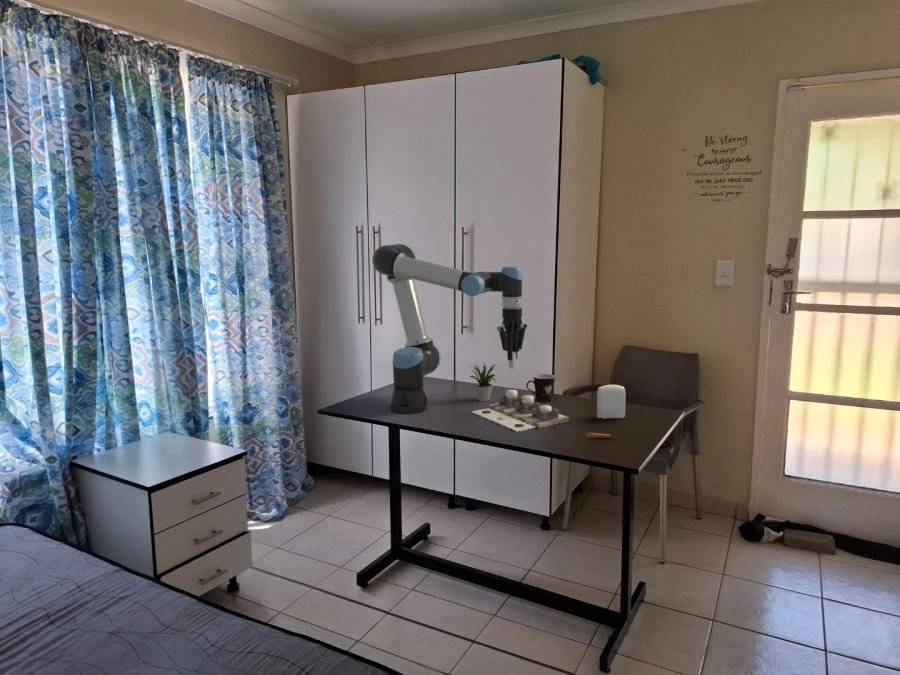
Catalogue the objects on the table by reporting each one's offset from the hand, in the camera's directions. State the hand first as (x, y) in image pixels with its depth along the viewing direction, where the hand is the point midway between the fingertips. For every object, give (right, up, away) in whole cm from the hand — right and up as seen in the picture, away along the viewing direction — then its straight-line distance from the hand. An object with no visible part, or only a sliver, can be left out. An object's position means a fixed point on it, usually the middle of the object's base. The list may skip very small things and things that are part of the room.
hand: (512, 368), depth 244 cm
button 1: (0, -12, +2) cm, 13 cm away
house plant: (-12, -14, +16) cm, 24 cm away
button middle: (+5, -14, -6) cm, 16 cm away
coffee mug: (+13, -14, +14) cm, 24 cm away
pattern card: (-5, -18, -12) cm, 22 cm away
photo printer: (+35, -18, -10) cm, 41 cm away
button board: (+5, -17, -5) cm, 19 cm away
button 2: (+11, -17, -14) cm, 24 cm away
